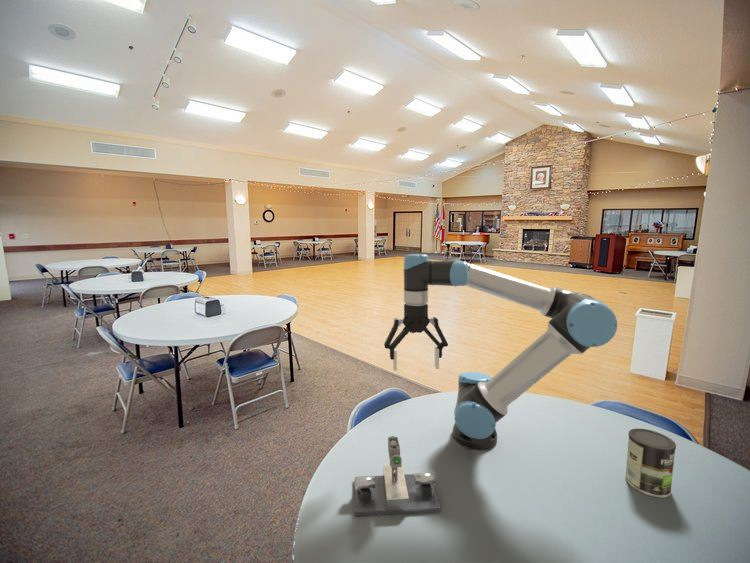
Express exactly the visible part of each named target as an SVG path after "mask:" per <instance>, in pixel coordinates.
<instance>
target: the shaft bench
mask: <svg viewBox="0 0 750 563" xmlns="http://www.w3.org/2000/svg"><path fill="white" fill-rule="evenodd" d="M397 471H398V480H397V481H396V480H395V479H394V481H392V468H391V466H390V464H383V466H382V472H383V474H382V475H368V476H365V475H364V476H354V491H355V492H354V493H355V494H354V517H368V516H369V517H370V516H371V517H372V515H373V516H381V515H380V514H385V515H384V516H388V515H389V516H390V515H391V516H392V515H409V514H427V513H430V514H431V513H440V512H441V505H440V503H439V499H438V496H437V492H436V490H435V486H434V485H436V484H437V477H436V473H435V472H433V471H432V472H415V473H411V474H410V473H409V474H405V472H404V468H403V465H402V467H397ZM394 472H395V470H394Z"/></svg>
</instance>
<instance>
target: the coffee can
mask: <svg viewBox="0 0 750 563" xmlns="http://www.w3.org/2000/svg"><path fill="white" fill-rule="evenodd" d="M627 445H628V446H627V454H626V455H627V456H626V470H625V476H624V478H625V480H626V482H627V484H628V485H630V486H631V487H632V488H633V489H635V490H636V491H638V492H640V493H641V494H645V495H646V496H650V497H654V498H658V499H659V498H668V497H670V496H671V494H672V483H673V476H674V475H673V473H674V464H675V455H676V449H677V448H676V447H677V444H676V442H675V441H674V440H673V439H672V438H670V437H668V436H667V435H665V434H662V433H660V432H657V431H654V430H650V429H647V428H632V429H629V431H628V443H627Z"/></svg>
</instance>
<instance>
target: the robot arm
mask: <svg viewBox="0 0 750 563" xmlns="http://www.w3.org/2000/svg"><path fill="white" fill-rule="evenodd" d="M403 261H404V262H403V287H404V288H403V302H404V305H403V318H402V319H398V318H397V317H394V319H393V326H391V329H390V331H389V333H388V336H387V337H386V338H385V341H384V343H383V344H384V348H385V349H387V350H389V358H390V360H393V362H392V363H393V364H392V365H393V370H394V371H397V369H398V368H397V367H398V366H397V365H398V363H397V361H398V360H397V353H398V352H397V347H398V345H399V344H400V343H401V342H402V341H403V340H404V338H405V337H406V336H407V335H408V334H409V333H411V334H415V333H418V334H421V333H423V332H424V333H425V334H426V335H427V336H428V337H429V339H431V341H432V342H433V343H434V344H435V345H436V346H434V367H435V369H437V370H439V369H440V359H441V358H442V357H443V349H444V348H445V347H448V346H449V342H448V341H447V339H446V337H445V336H444V333H443V331H442V330H441V328H440V326H439V319H438V318H437V317H435V316H433V317H432V318H429V305H428V303H429V286H449V287H451V286H452V287H469V288H471V289H475V290H477V291H480V292H483V293H486V294H489V295H492V296H494V297H498V298H501V299H504V300H507V301H509V302H513V303H515V304H518V305H522V306H524V307H527V308H530V309H533V310H536V311H539V312H540V314H541V316H544V317H547V318H549V319H550V320H549V321H548V322H547V329H546V331H544V333H542V334H541V335H540V336H539V337H538V338H537V339H536V340H535V341H534V342H532V343H531V344H530V345H529V346H528V347H526V348H525V349H524V350H523V351H522V352H520V353H519V354H518V355H517V356H516V357H514V359H513V360H511V361H510V362H509V363H508V364H506V365H505V366H504V367H503V368H502V369H501V370H499V372H497V373H496V374H495V375H494V376H491V375H489V374H486V373H481V372H474V371H473V372H472V371H471V372H470V371H469V372H462V373H461V374H459V376H458V381H457V382H458V386H457V388H458V391H457V397H456V404H455V408H454V412H453V413H454V414H453V415H454V421H455V422H454V423H453V426H452V438H453V440H454V441H455V442H456V443H457V444H458V445H460V446H462V447H465V448H467V449H469V450H476V451H485V450H489V449H492V448H494V447H496V445H497V443H498V432H497V429H496V425H497V423H498V422H499V421H500V420H502V419H503V418H504V417H505V416H506V415H507V414H508V407H509V406H510V405H511V404H513V402H515V400H517V399H518V398H519V397H521V395H523V394H524V393H526V392H527V391H528V390H530V389H531V388H532V387H533V386H535V384H537V383H538V382H539V381H540V380H542V379H543V378H545V376H546V375H548V374H549V373H551V371H552V370H554V369H555V368H556V367H558V366H559V365H561V363H563V362H564V361H565V360H566V359H568V358H569V357H570V356H571V355H582V354H584V353H585V352H586V351H588V350H589V349H590V348H595V347H596V348H597V347H601V346H604V345H606V344H608V343H609V342H610V341H611V340H612V339H613V338H614V336H615V335H616V332H617V330H618V320H617V316H616V314H615V313H614V312H613V310H612V309H611V308H610V307H609V306H608V305H607V304H605V303H604V302H603V301H601V300H600V299H599V300H598V299H596V298H594V297H592V296H591V295H588V294H586V293H583V292H576V291H571V290H567V289H563V288H558V287H555V286H550V287H549V288H548V287H545V286H542V285H538V284H536V283H533V282H529V281H526V280H523V279H519V278H517V277H513V276H511V275H508V274H505V273H501V272H498V271H495V270H491V269H488V268H486V267H485V268H484V267H482V266H478V265H476V264H473V263H469V262H467V261H463V260H461V259H459V258H456V257H448V258H447V259H445V260H437V261H436V260H430V259H429V256H428V254H426V253H425V254H419V253H417V254H416V253H415V254H413V253H412V254H411V253H410V254H406V255H405V257H404V259H403ZM429 324H431V325H432V326H433V327H434V329H435V331H436V333H437V335H438V336H439V339H440V341H441V342H440V341H439V340H438V339H437V338H436V337H435V335H434V334H433V333H432V332H431V331H430V330H429V329H428V328H427V327H428V326H429ZM401 325H404V327H403V328H402V330H401V332H399V334H398V335H397V336H396V337H395V335H396V332H397V331H398V329H399V327H400V326H401ZM394 337H395V339H394ZM393 339H394V340H393Z"/></svg>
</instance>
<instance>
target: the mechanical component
mask: <svg viewBox="0 0 750 563" xmlns="http://www.w3.org/2000/svg"><path fill="white" fill-rule="evenodd" d="M399 443H400V442H399V438H398V436H394V435H391V436H388V437H387V450H388V458H389V465H390V466H391V468H392V481H394V479H395V480H396V481H397V480H398V471H397V467H402V466H403V463H402V456H401V445H400V444H399ZM394 470H395V472H394Z"/></svg>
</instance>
